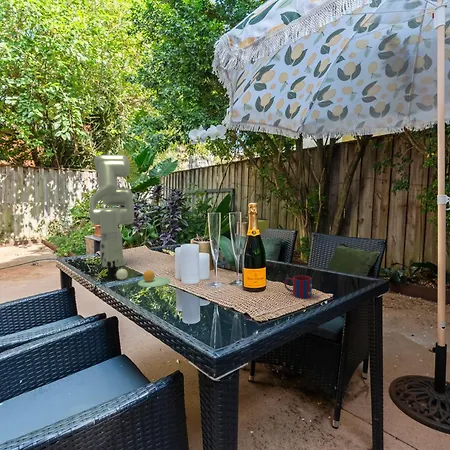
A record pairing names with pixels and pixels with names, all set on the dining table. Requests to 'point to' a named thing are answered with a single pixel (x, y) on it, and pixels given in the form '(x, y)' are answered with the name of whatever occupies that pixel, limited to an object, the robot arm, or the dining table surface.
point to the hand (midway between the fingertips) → (112, 274)
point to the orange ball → (148, 276)
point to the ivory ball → (121, 274)
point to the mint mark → (154, 282)
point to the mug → (301, 286)
